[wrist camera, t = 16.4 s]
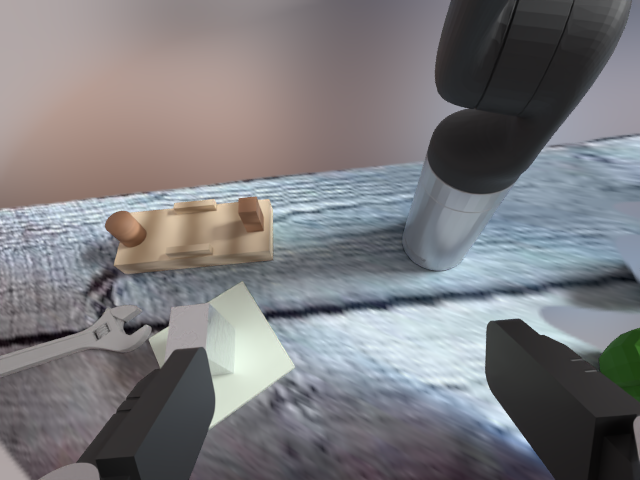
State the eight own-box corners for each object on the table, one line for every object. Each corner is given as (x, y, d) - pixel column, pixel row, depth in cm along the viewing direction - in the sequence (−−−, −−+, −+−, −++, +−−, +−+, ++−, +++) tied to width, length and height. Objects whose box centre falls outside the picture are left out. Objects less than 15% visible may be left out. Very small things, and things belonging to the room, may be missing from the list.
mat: (243, 282, 48) (242, 281, 47) (295, 367, 42) (295, 366, 41) (150, 340, 44) (148, 338, 44) (192, 441, 38) (190, 441, 38)
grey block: (235, 329, 44) (209, 302, 35) (234, 373, 41) (205, 356, 32) (205, 332, 44) (171, 307, 35) (201, 377, 41) (164, 361, 32)
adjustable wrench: (-46, 394, 43) (-60, 393, 41) (-30, 344, 46) (-43, 341, 45) (150, 347, 44) (143, 344, 43) (152, 302, 48) (145, 298, 46)
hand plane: (272, 210, 54) (262, 177, 47) (273, 260, 49) (261, 231, 42) (137, 223, 54) (107, 192, 47) (125, 274, 50) (90, 248, 43)
